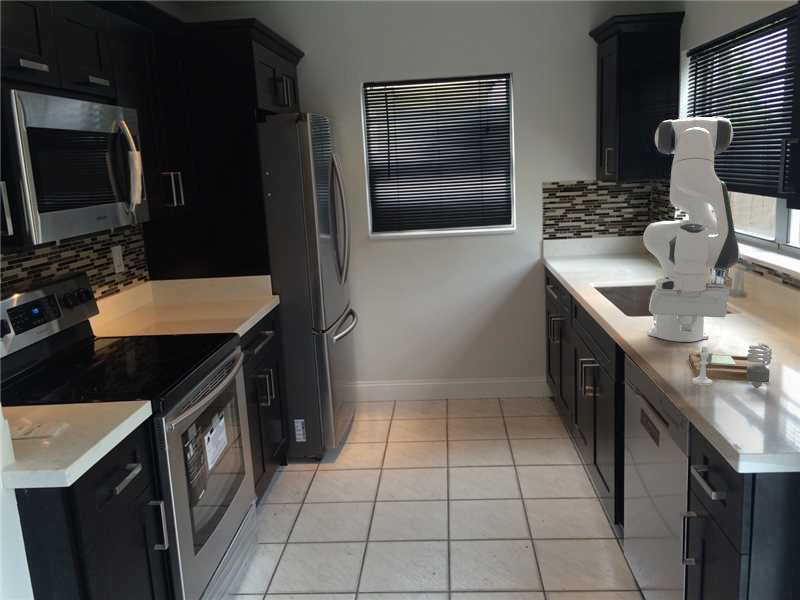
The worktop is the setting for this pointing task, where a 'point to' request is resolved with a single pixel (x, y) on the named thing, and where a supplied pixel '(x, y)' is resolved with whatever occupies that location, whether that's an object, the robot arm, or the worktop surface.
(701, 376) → the chess piece
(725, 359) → the cover
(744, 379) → the board
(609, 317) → the worktop surface
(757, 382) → the light bulb
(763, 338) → the worktop surface
